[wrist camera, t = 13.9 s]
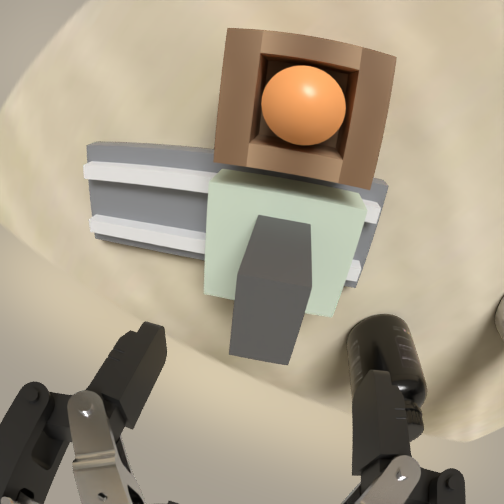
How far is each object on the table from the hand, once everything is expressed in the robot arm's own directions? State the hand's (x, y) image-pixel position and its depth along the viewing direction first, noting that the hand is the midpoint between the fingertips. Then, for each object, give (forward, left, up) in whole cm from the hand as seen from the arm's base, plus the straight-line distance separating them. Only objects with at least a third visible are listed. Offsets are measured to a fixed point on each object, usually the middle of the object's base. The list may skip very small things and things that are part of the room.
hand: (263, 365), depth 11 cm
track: (+5, 0, -15) cm, 16 cm away
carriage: (0, 0, -11) cm, 12 cm away
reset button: (0, -9, -11) cm, 14 cm away
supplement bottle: (-12, +11, -15) cm, 22 cm away
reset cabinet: (0, -9, -15) cm, 17 cm away
